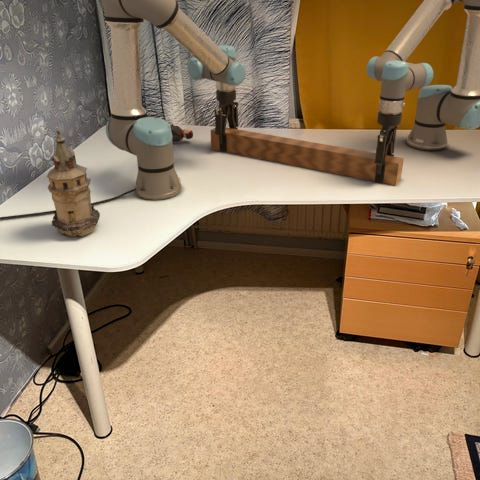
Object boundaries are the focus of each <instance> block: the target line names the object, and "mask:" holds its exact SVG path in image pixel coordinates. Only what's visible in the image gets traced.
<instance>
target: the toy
mask: <svg viewBox="0 0 480 480" xmlns="http://www.w3.org/2000/svg"><path fill="white" fill-rule="evenodd" d="M169 125H170V127H171V132H172V144H179V143H181V142H182V141H183V140H184V139H186V140H191V139H193V137H194V131H193V130H192V129H190V128H185V129H182V127H180V126H179V125H174V123H169Z"/></svg>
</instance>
